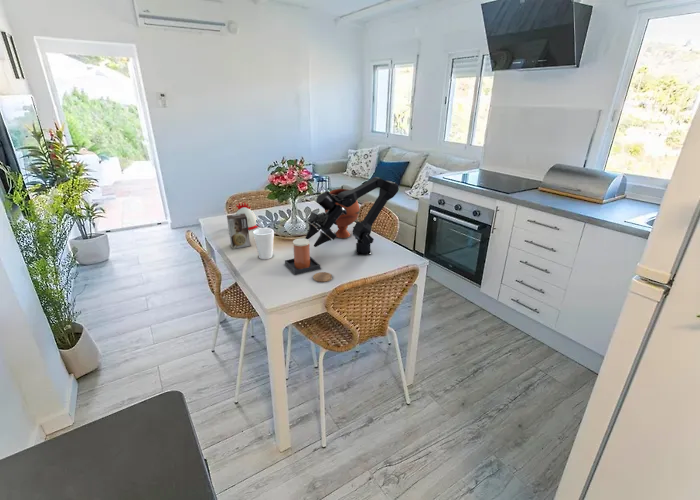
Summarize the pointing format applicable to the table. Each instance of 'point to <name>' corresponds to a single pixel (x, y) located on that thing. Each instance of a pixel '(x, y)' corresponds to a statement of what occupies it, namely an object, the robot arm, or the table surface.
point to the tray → (313, 266)
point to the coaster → (322, 277)
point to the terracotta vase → (345, 216)
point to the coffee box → (238, 230)
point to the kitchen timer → (248, 215)
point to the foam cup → (264, 242)
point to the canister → (301, 253)
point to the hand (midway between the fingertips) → (310, 242)
